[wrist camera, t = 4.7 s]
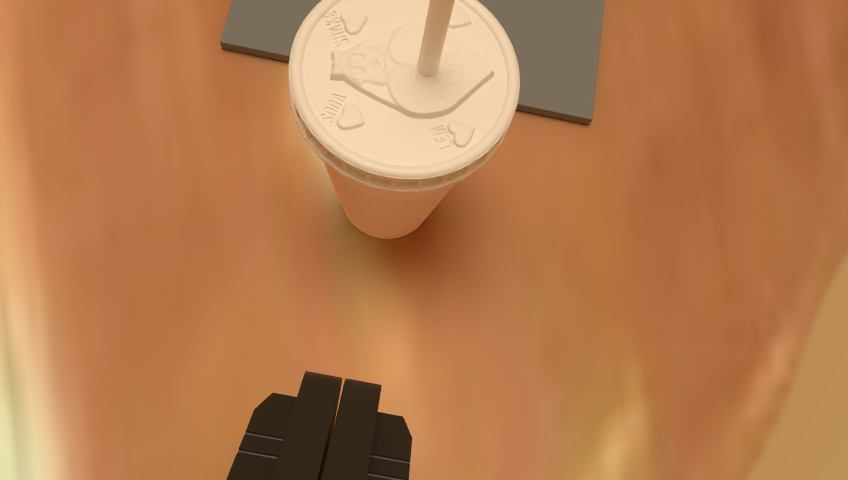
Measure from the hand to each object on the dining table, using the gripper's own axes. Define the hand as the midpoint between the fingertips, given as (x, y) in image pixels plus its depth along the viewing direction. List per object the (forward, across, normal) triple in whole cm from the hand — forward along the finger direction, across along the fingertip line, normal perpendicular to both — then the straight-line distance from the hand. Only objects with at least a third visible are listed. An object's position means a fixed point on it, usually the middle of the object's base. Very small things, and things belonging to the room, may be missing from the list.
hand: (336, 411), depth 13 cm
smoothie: (+15, 0, +2) cm, 15 cm away
